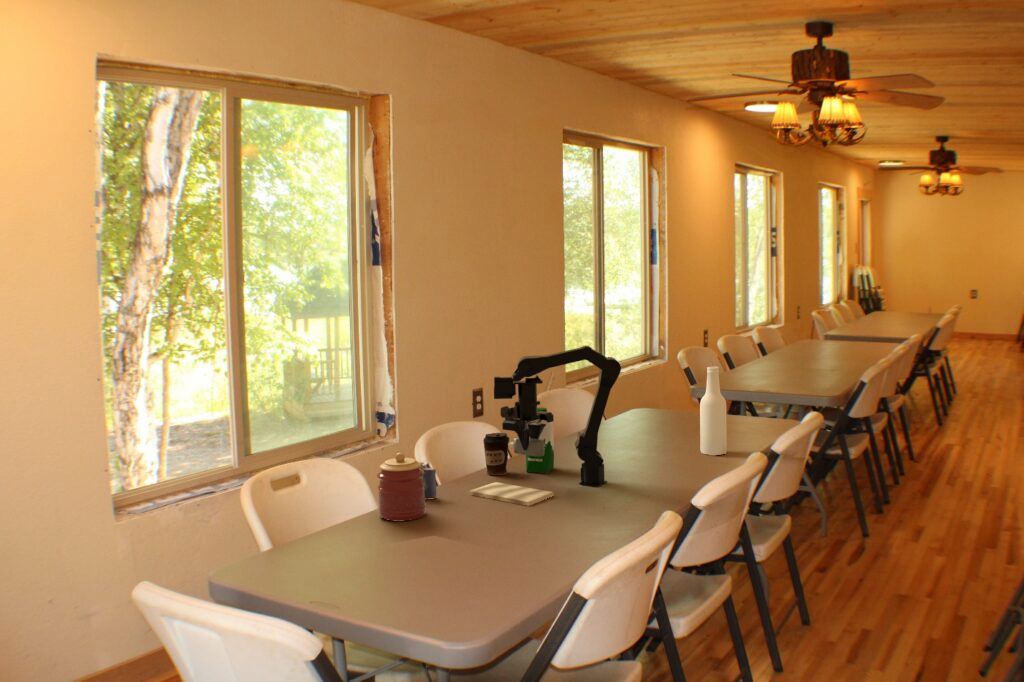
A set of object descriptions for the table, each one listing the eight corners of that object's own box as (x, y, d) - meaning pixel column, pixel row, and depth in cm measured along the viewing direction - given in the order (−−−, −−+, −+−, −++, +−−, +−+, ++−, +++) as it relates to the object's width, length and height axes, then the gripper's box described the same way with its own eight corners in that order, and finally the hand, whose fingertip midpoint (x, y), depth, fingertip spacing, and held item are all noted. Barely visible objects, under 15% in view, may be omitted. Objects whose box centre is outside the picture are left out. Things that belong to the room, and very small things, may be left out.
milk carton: (557, 467, 308) (555, 407, 306) (547, 474, 299) (546, 412, 297) (532, 466, 311) (530, 406, 309) (522, 472, 303) (520, 411, 301)
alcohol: (730, 452, 322) (729, 366, 319) (721, 457, 315) (720, 369, 312) (705, 449, 327) (705, 364, 324) (696, 455, 320) (695, 368, 317)
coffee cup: (507, 477, 297) (505, 437, 296) (481, 476, 299) (480, 436, 297) (512, 470, 306) (511, 431, 304) (487, 470, 307) (486, 431, 306)
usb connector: (546, 454, 283) (546, 440, 283) (539, 457, 281) (539, 442, 280) (513, 449, 291) (513, 435, 291) (506, 452, 288) (506, 438, 288)
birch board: (553, 496, 274) (553, 492, 274) (528, 506, 264) (528, 501, 264) (495, 485, 287) (495, 482, 287) (469, 494, 278) (469, 490, 278)
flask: (438, 497, 276) (436, 462, 275) (433, 500, 273) (432, 464, 272) (410, 495, 279) (408, 460, 278) (405, 498, 277) (403, 462, 276)
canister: (388, 525, 250) (385, 460, 248) (372, 513, 262) (369, 451, 260) (433, 517, 256) (430, 454, 254) (415, 506, 268) (413, 445, 266)
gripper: (525, 391, 296) (526, 440, 297) (487, 400, 281) (489, 451, 283) (554, 394, 289) (555, 444, 290) (516, 403, 274) (518, 456, 276)
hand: (529, 448), depth 285 cm, fingers closed on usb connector, 4 cm apart
